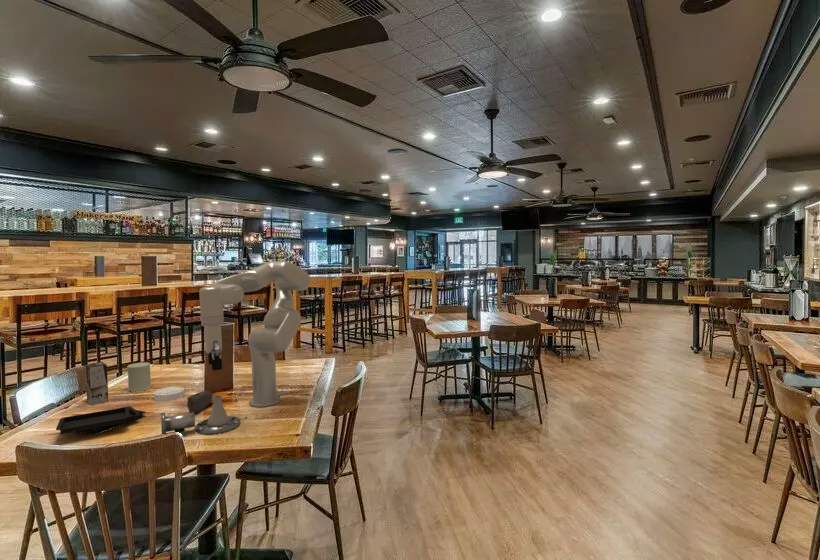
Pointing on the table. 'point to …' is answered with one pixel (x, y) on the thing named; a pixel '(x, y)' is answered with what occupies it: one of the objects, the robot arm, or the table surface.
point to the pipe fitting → (188, 421)
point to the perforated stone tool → (199, 401)
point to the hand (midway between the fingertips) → (215, 366)
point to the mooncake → (169, 393)
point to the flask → (217, 413)
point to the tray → (98, 420)
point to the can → (139, 377)
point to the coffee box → (96, 382)
